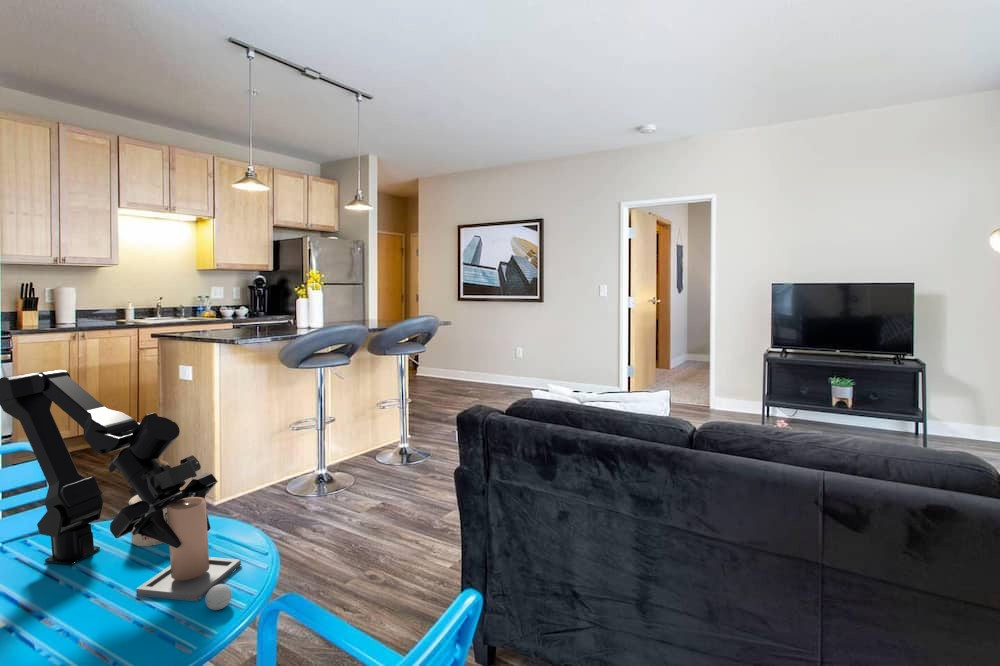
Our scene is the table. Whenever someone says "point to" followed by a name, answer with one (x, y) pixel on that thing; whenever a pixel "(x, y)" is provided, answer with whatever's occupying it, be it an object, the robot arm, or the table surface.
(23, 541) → the table surface
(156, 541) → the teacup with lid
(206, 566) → the terracotta cup
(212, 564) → the charcoal tray
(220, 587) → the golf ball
